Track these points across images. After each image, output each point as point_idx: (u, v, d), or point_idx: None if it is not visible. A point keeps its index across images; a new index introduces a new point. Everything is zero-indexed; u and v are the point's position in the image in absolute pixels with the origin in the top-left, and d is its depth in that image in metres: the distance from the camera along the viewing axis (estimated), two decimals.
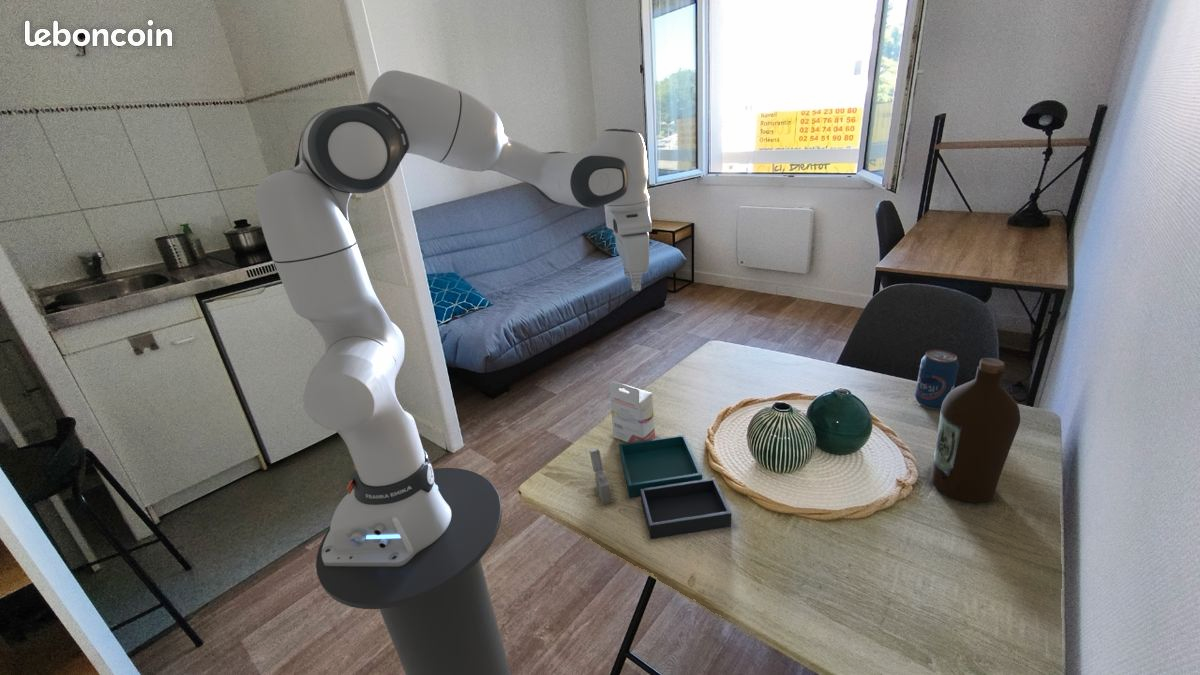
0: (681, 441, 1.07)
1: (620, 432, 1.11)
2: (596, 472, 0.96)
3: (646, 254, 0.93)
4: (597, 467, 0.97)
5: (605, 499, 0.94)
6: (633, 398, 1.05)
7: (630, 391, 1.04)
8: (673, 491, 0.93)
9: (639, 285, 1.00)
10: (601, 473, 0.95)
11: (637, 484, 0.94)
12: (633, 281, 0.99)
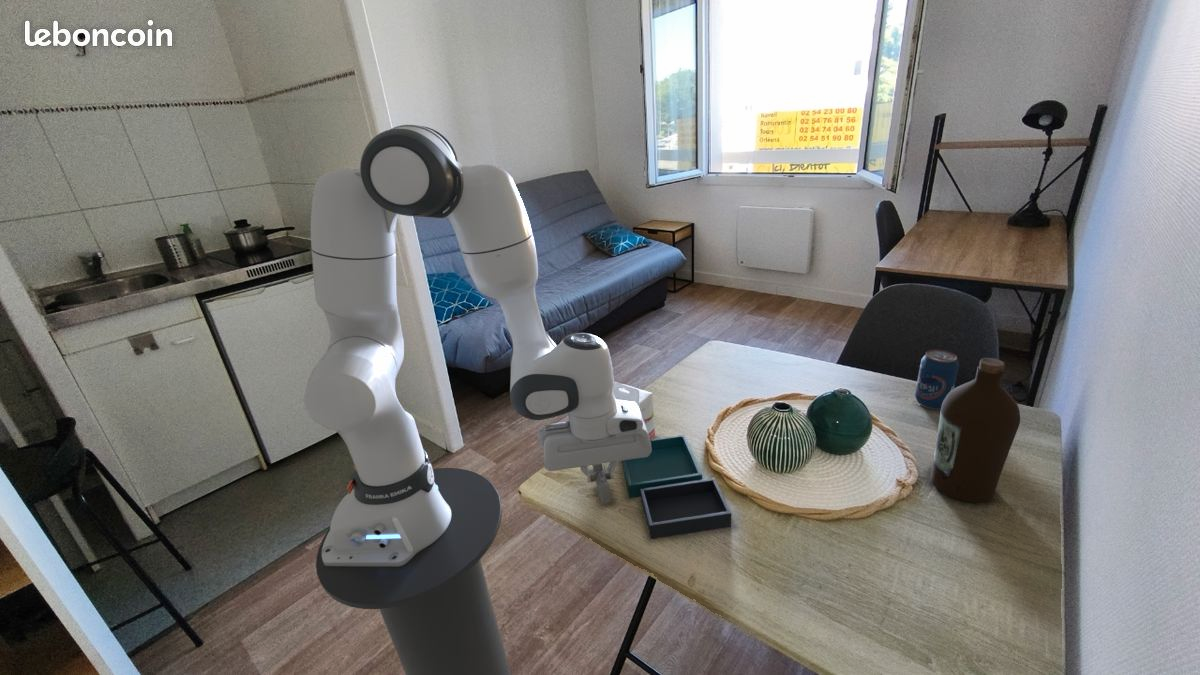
0: (681, 441, 1.07)
1: None
2: (596, 472, 0.96)
3: None
4: (596, 467, 0.97)
5: (605, 499, 0.94)
6: (633, 398, 1.05)
7: (630, 391, 1.04)
8: (673, 491, 0.93)
9: None
10: (601, 473, 0.95)
11: (637, 484, 0.94)
12: None
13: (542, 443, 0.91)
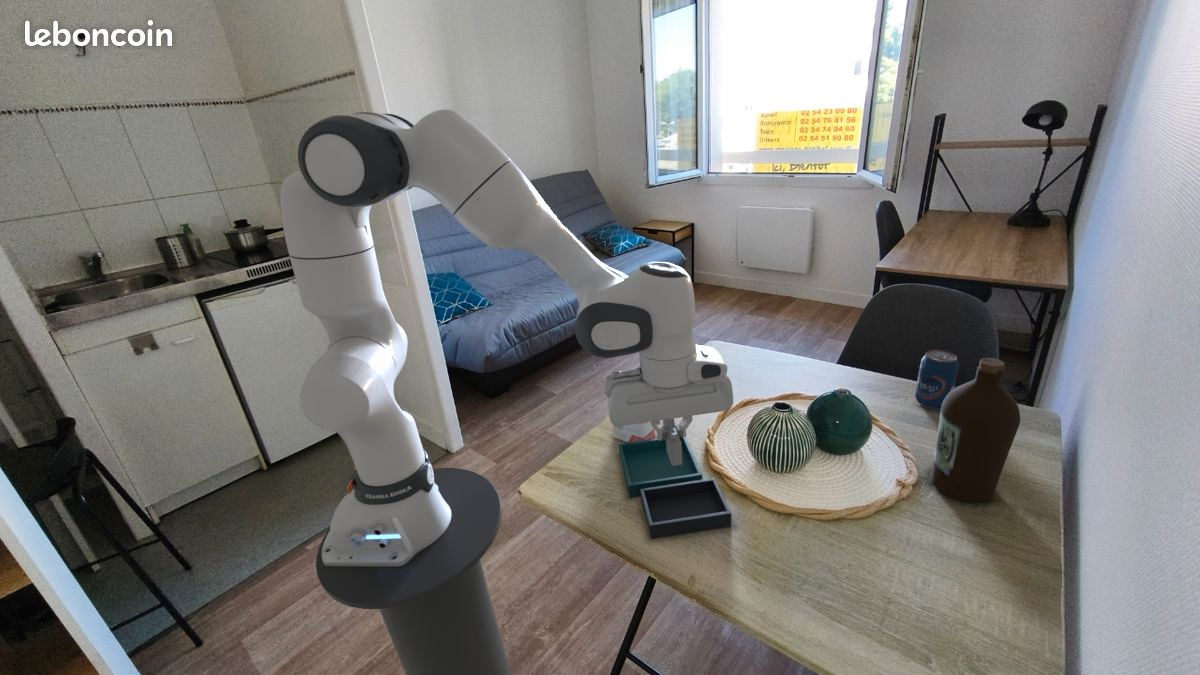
0: (681, 441, 1.07)
1: (620, 432, 1.11)
2: (667, 429, 0.85)
3: None
4: (668, 424, 0.85)
5: (676, 460, 0.82)
6: None
7: None
8: (673, 491, 0.93)
9: None
10: (673, 430, 0.83)
11: (637, 484, 0.94)
12: None
13: (609, 393, 0.79)
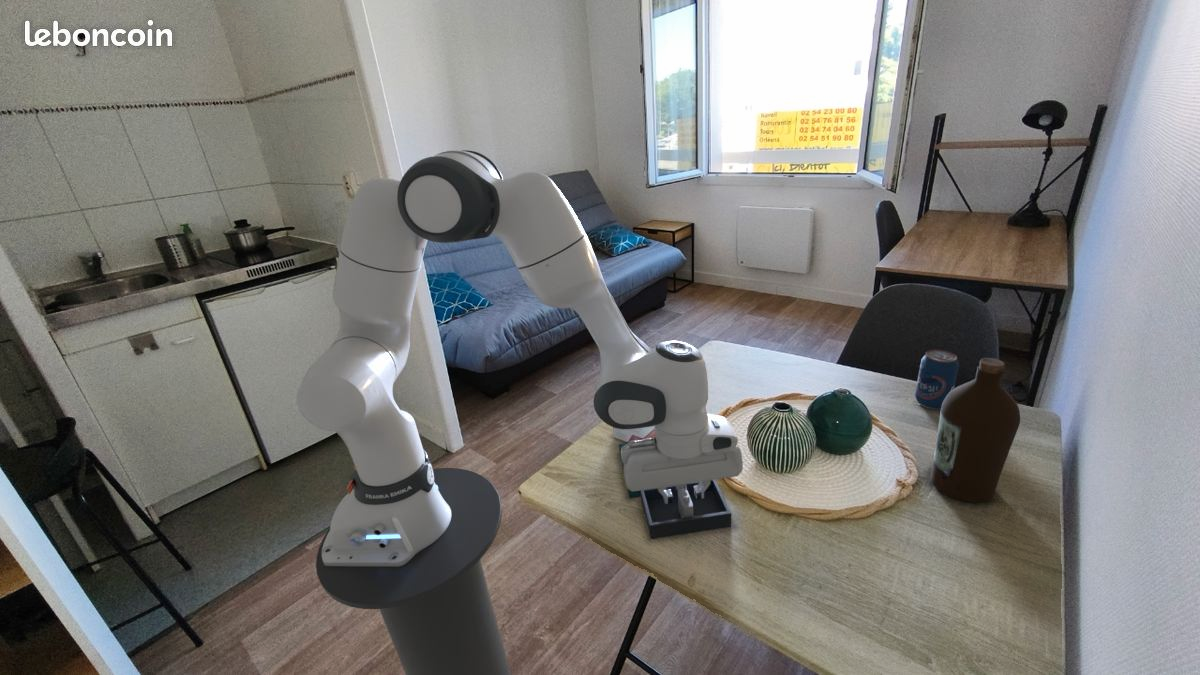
0: None
1: (620, 432, 1.11)
2: (679, 490, 0.89)
3: None
4: (680, 485, 0.90)
5: None
6: None
7: None
8: (673, 491, 0.93)
9: None
10: (685, 492, 0.87)
11: None
12: None
13: (625, 461, 0.84)
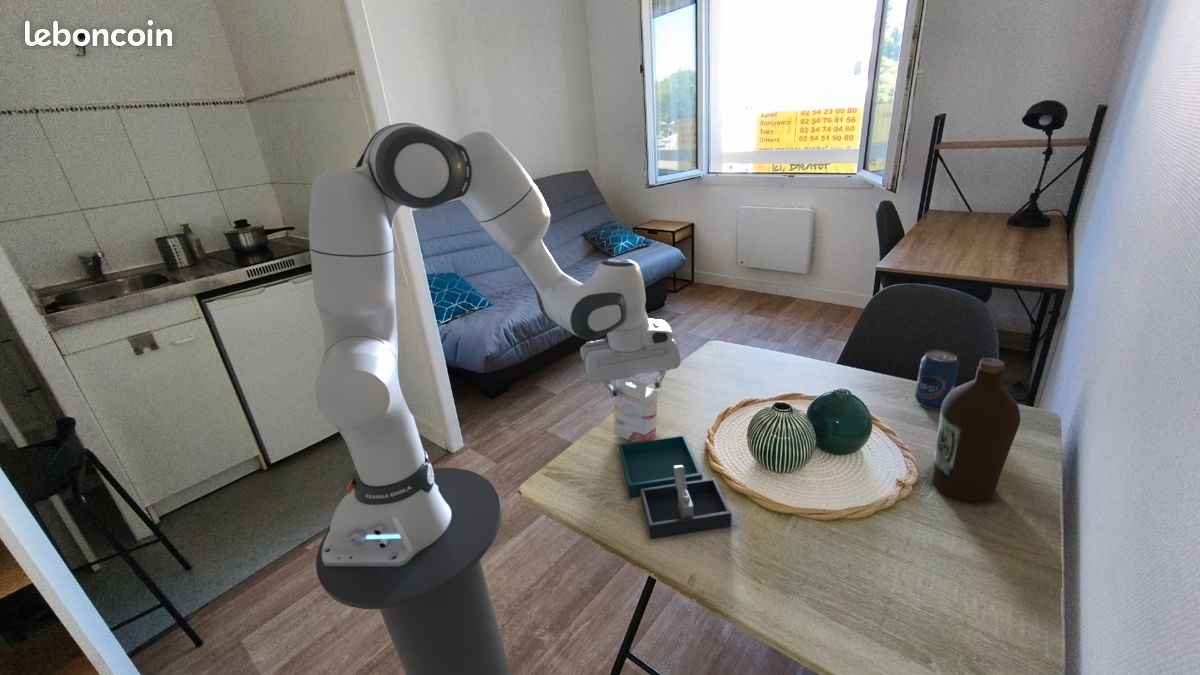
0: (681, 441, 1.07)
1: (621, 429, 1.11)
2: (679, 490, 0.89)
3: None
4: (680, 485, 0.90)
5: None
6: (639, 392, 1.05)
7: (637, 385, 1.06)
8: (673, 491, 0.93)
9: None
10: (685, 492, 0.87)
11: (637, 484, 0.94)
12: None
13: (584, 359, 1.04)
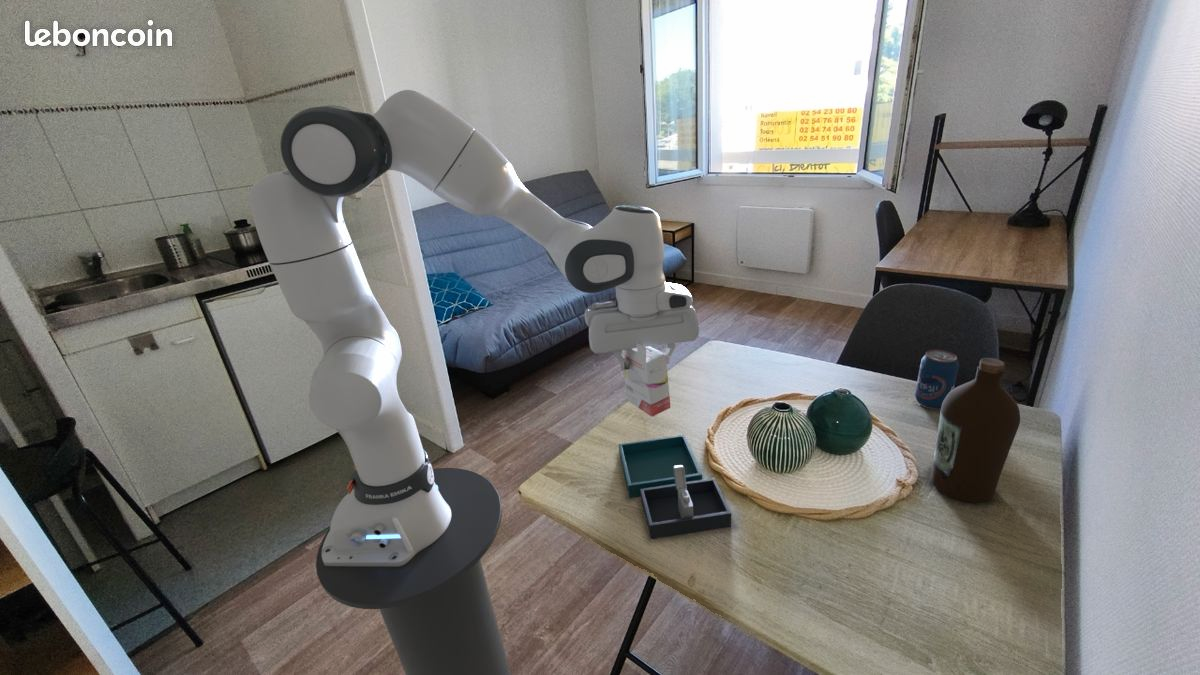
0: (681, 441, 1.07)
1: (631, 396, 0.99)
2: (679, 490, 0.89)
3: None
4: (680, 485, 0.90)
5: None
6: (640, 357, 0.91)
7: (638, 348, 0.91)
8: (673, 491, 0.93)
9: None
10: (685, 492, 0.87)
11: (637, 484, 0.94)
12: None
13: (589, 323, 0.90)
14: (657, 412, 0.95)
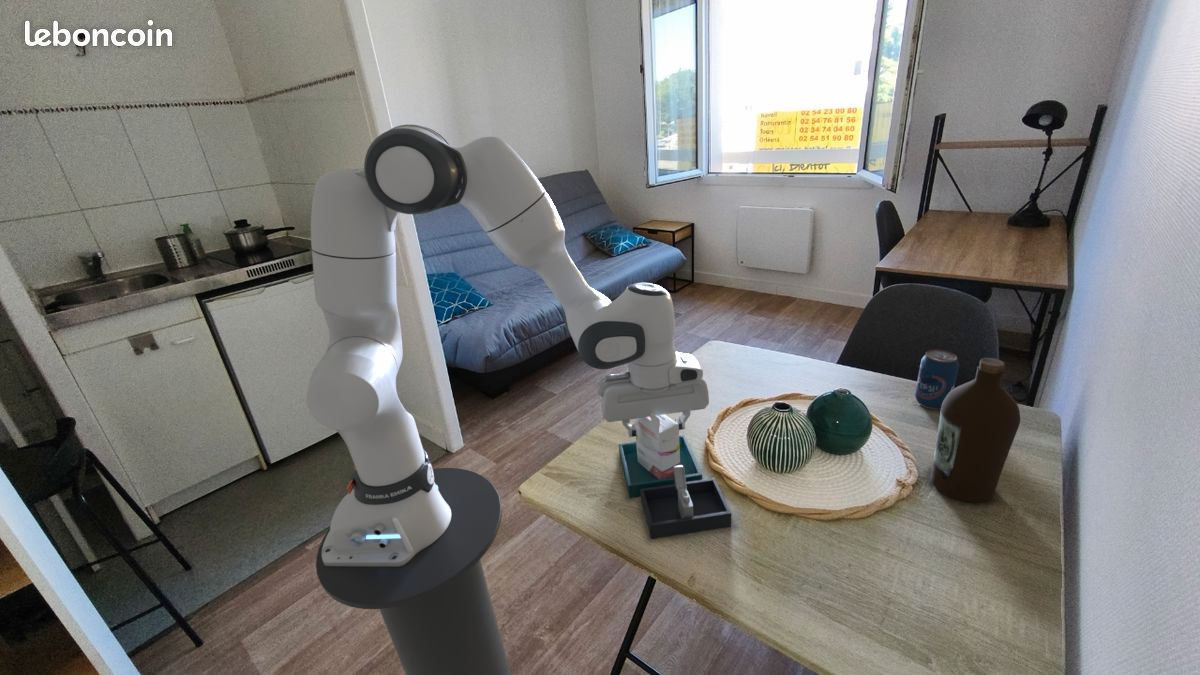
0: (681, 441, 1.07)
1: (642, 459, 1.01)
2: (679, 490, 0.89)
3: None
4: (680, 485, 0.90)
5: None
6: (654, 426, 0.94)
7: (651, 418, 0.94)
8: (673, 491, 0.93)
9: None
10: (685, 492, 0.87)
11: (637, 484, 0.94)
12: None
13: (602, 394, 0.93)
14: None
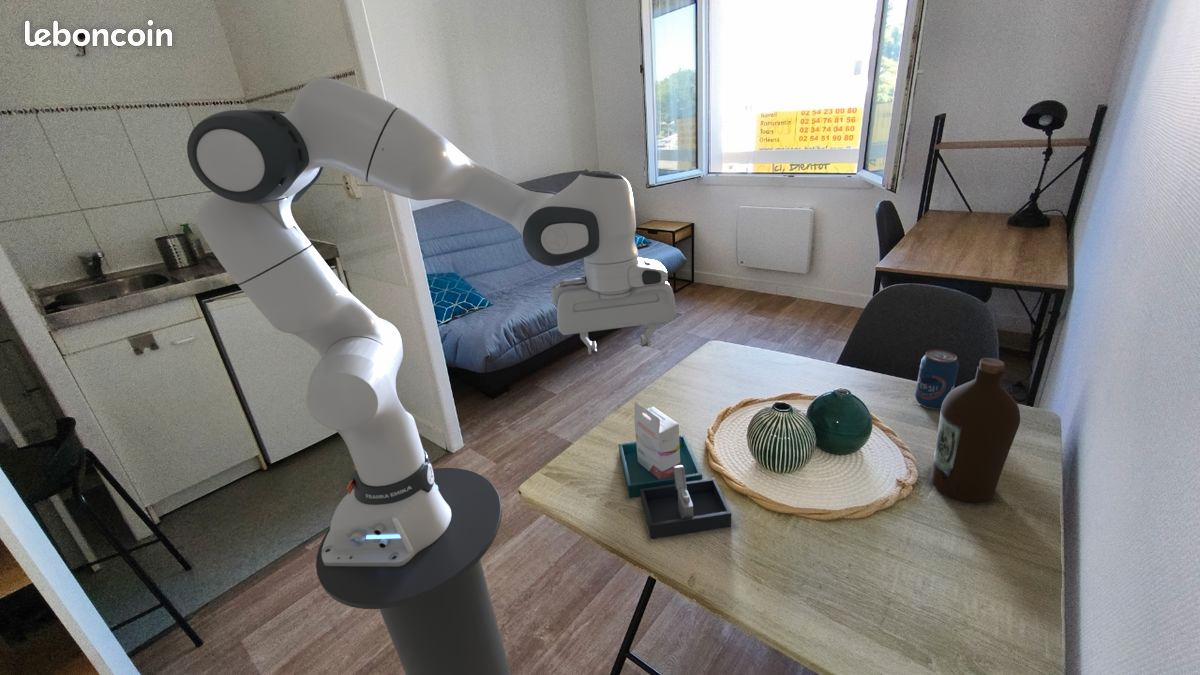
0: (681, 441, 1.07)
1: (642, 459, 1.01)
2: (679, 490, 0.89)
3: None
4: (680, 485, 0.90)
5: None
6: (654, 426, 0.94)
7: (652, 418, 0.94)
8: (673, 491, 0.93)
9: None
10: (685, 492, 0.87)
11: (637, 484, 0.94)
12: None
13: (556, 302, 0.83)
14: None
